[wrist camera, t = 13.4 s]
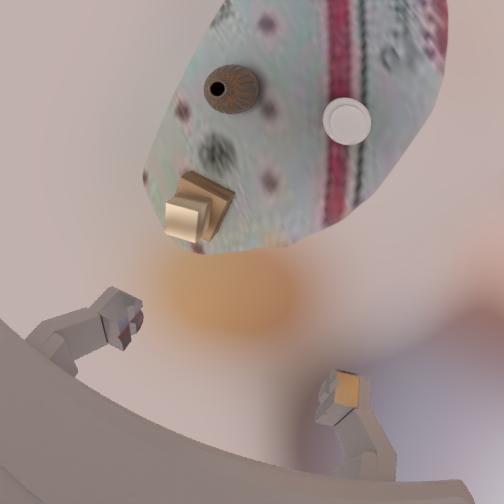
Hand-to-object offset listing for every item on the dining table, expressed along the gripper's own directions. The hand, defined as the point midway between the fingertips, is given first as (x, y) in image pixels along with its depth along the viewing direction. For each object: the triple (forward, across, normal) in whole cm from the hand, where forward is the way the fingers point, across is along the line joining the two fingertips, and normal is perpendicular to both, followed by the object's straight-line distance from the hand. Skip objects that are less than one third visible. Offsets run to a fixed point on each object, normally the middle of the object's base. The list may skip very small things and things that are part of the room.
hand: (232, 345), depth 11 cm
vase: (+34, +12, -7) cm, 37 cm away
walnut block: (+34, +14, +12) cm, 39 cm away
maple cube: (+30, +14, +12) cm, 36 cm away
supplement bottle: (+34, -3, -7) cm, 35 cm away
